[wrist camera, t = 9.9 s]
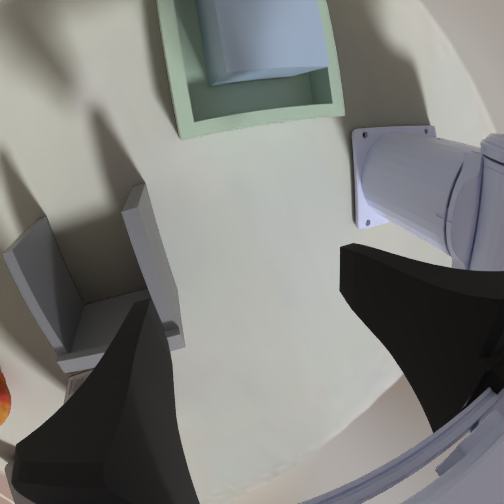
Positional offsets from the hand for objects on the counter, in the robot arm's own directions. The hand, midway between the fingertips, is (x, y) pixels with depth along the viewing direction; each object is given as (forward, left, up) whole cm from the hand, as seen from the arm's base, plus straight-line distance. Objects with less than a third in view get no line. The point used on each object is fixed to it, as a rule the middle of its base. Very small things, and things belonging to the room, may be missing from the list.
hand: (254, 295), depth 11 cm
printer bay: (+8, +1, -10) cm, 13 cm away
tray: (-4, -13, -10) cm, 17 cm away
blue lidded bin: (-4, -14, -9) cm, 17 cm away
